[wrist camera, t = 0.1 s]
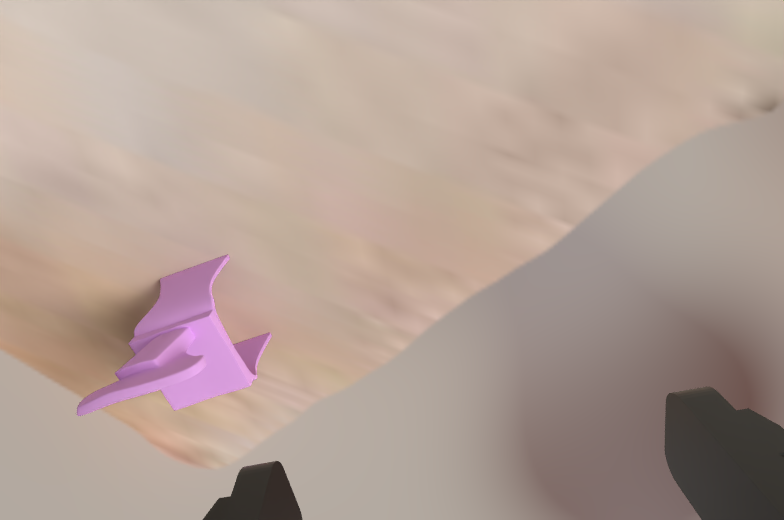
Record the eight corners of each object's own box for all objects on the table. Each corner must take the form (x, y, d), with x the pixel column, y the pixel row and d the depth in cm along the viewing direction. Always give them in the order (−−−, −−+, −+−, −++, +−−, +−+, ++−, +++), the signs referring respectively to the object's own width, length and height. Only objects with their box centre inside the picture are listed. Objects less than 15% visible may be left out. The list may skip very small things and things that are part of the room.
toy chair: (201, 364, 44) (118, 507, 30) (149, 282, 40) (30, 400, 27) (285, 336, 43) (240, 471, 29) (239, 250, 39) (163, 355, 26)
